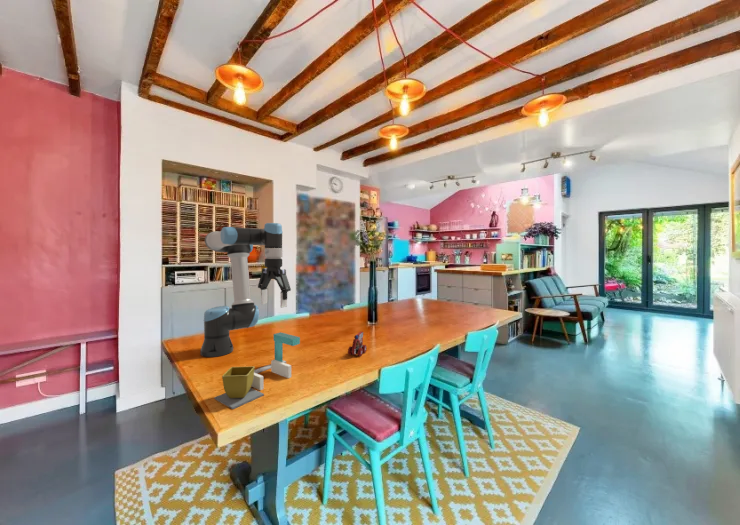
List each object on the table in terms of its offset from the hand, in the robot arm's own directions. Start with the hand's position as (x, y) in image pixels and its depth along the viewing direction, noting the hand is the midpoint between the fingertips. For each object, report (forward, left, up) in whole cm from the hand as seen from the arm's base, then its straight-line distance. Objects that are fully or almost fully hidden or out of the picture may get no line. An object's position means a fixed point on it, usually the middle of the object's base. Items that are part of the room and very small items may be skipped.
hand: (273, 305), depth 134 cm
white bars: (+5, -4, -29) cm, 29 cm away
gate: (+3, +5, -28) cm, 28 cm away
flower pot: (+12, -24, -28) cm, 39 cm away
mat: (+12, -24, -29) cm, 39 cm away
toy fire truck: (+18, +38, -29) cm, 51 cm away
